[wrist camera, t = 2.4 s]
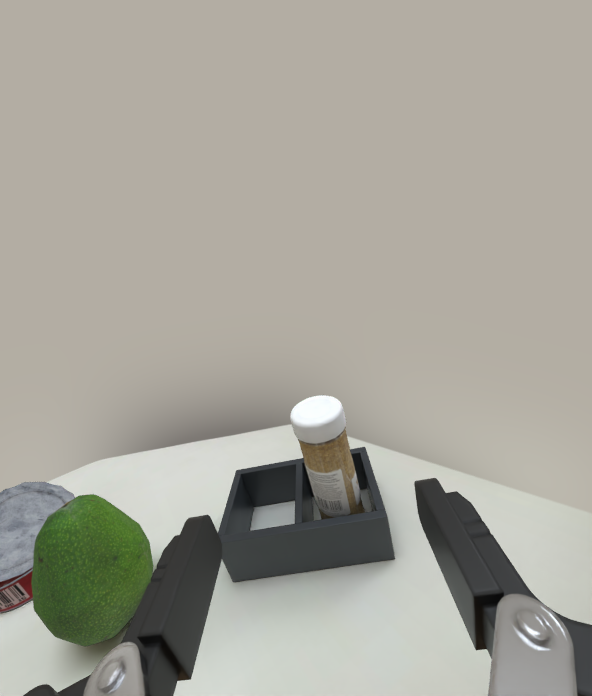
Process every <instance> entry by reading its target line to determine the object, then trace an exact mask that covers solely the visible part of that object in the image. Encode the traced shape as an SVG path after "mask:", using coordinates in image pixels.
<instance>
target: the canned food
mask: <svg viewBox="0 0 592 696" xmlns="http://www.w3.org/2000/svg"><path fill="white" fill-rule="evenodd" d="M74 498H75V497H74V494H72V493H71V492H69V491H67V490H66V489H64V488H63V487H62V486H58V485H52V484H49V483H46V482H24V483H21V484H20V485H17V486H15V487H12V488H9V489H5V490H3V491H2V492H1V493H0V613H2V612H7V611H10V610H12V609H15V608H18V607H19V606H21V605H23V604H25V603H27V602H29V601H30V600H32V599H33V593H32V583H31V581H32V571H33V557H34V545H35V540H36V537H37V535H38V533H39V531H40V530H41V528H42V526H43V524H44V523H45V521H46V519H47V517H48V516H50V515H51V514H53V513H54V512H55V511H57V510H58V509H59V508H61V507H62V506H63V505H65V504H66V503H67V502H69V501H71V500H73V499H74Z"/></svg>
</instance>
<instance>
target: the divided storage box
mask: <svg viewBox="0 0 592 696" xmlns="http://www.w3.org/2000/svg"><path fill="white" fill-rule="evenodd" d="M350 452H351V456H352V459H353V463H354V467H355V471H356V476H357V480H358V484H359V488H360V489H363V488H367V490H368V493H369V497H370V500H371V504H372V508H373V511H372V512H366V513H359V514H353V515H347V516H341V517H335V518H328V519H322V520H316V521H313V503H312V497H314V494H313V490H312V487H311V484H310V480H309V477H308V473H307V470H306V466H305V463H304V458H301V459H296V460H290V461H285V462H279V463H274V464H269V465H263V466H258V467H252V468H247V469H241V470H236V473H235V477H234V480H233V484H232V487H231V490H230V494H229V497H228V501H227V504H226V508H225V511H224V515H223V518H222V521H221V525H220V528H219V532H218V535H219V538H220V540H221V543H222V560H223V562H224V564H225V566H226V568H227V570H228V572H229V574H230V576H231V579H232V581H233V582H237V581H244V580H251V579H258V578H265V577H272V576H279V575H285V574H292V573H299V572H306V571H313V570H320V569H327V568H334V567H341V566H348V565H355V564H362V563H369V562H376V561H383V560H390V559H395V556H394V551H393V545H392V539H391V534H390V528H389V523H388V517H387V514H386V511H385V508H384V504H383V501H382V498H381V495H380V492H379V489H378V486H377V483H376V480H375V476H374V473H373V470H372V467H371V464H370V461H369V458H368V455H367V452H366V448H365V447H361V448H356V449H350ZM292 500H295V524H291V525H285V526H279V527H272V528H266V529H260V530H254V531H249V530H250V524H251V519H252V514H253V508H254V507H256V506H262V505H268V504H274V503H280V502H286V501H292Z"/></svg>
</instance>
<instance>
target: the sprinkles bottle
mask: <svg viewBox="0 0 592 696" xmlns="http://www.w3.org/2000/svg"><path fill="white" fill-rule="evenodd" d="M290 418H291V422H292V426H293V430H294V433H295V435H296V437H297V438H298V441H299V443H300V446H301V450H302V454H303V457H304V463H305V466H306V470H307V473H308V477H309V480H310V484H311V487H312V490H313V494H314V497H315V500H316V504H317V506H318V508H319V511H320V515H321V518H322V519H328V518H335V517H341V516H347V515H353V514H359V513H365V510H364V508H363V505H362V500H361V494H360V488H359V484H358V480H357V476H356V471H355V467H354V463H353V459H352V456H351V452H350V447H349V443H348V439H347V435H346V430H345V428H346V420H345V414H344V410H343V407H342V404H341V402H340V401H339V400H338V399H336V398H334V397H330V396H315V397H310V398H307V399H305V400H303V401H301V402H300V403H298V404H297V405H296V406H295V407H294V408H293V410H292V412H291V415H290Z"/></svg>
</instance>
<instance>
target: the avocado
mask: <svg viewBox="0 0 592 696" xmlns="http://www.w3.org/2000/svg"><path fill="white" fill-rule="evenodd" d="M152 572H153V562H152V556H151V549H150V543H149V540H148V539H147V537H146V535H145V533H144V532H143V530H142V528H141V526H140V525H139V524H138V523H137V522H135V521H134V520H133V519H131V518H130V517H129V516H127V515H126V514H125V513H123V512H122V511H121V510H119V509H118V508H116V507H115V506H114V505H112V504H111V503H109V502H108V501H106V500H105V499H103V498H101V497H99V496H97V495H94V494H93V495H82V496H78V497H76V498H74V499H73V500H71V501H69V502H67V503H66V504H65V505H63V506H62V507H61V508H59V509H58V510H57V511H55V512H54V513H53V514H51V515H50V516H48V517H47V519H46V521H45V523H44V524H43V526H42V528H41V530H40V531H39V533H38V535H37V537H36V540H35V545H34V557H33V571H32V581H31V583H32V593H33V603H34V610H35V612H36V613H37V615H38V616H39V617H40V619H41V620H42V621H43V623H44V624H45V625H46V627H47V628H48V629H49V630H50V632H51V633H52V634H53V635H54V636H55V637H57V638H60V639H63V640H66V641H69V642H72V643H75V644H79V645H82V646H89V645H92V644H96V643H99V642H102V641H105V640H107V639H110V638H113V637H114V636H115V635H116V634H117V633H118V632H119V631H120V630H121V629H122V628H123V627H124V626H125V625H126V624H127V623H128V622H129V620H130V619H131V618H132V617H133V616H134V615H135V612H136V610H137V608H138V606H139V604H140V602H141V599H142V597H143V595H144V593H145V591H146V588H147V586H148V584H149V583H150V582H151V577H152Z"/></svg>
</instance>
